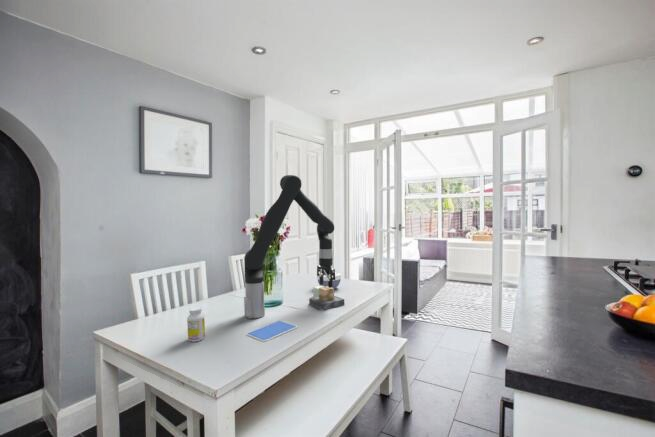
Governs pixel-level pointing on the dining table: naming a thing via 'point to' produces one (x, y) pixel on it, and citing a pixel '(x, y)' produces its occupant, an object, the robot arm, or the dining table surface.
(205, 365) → the dining table surface
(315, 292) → the sage block
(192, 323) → the supplement bottle
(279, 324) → the tablet computer
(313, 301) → the slate base
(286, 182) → the robot arm
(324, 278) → the bowl
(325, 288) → the oak block
